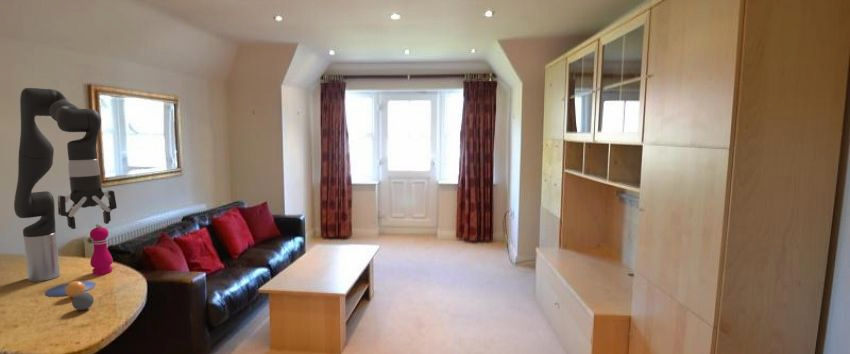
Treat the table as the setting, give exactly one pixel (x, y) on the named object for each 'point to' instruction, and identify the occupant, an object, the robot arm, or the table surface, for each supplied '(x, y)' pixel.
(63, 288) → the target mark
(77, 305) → the gray ball
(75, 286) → the object ball
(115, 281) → the table surface
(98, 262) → the pepper mill
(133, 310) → the table surface
